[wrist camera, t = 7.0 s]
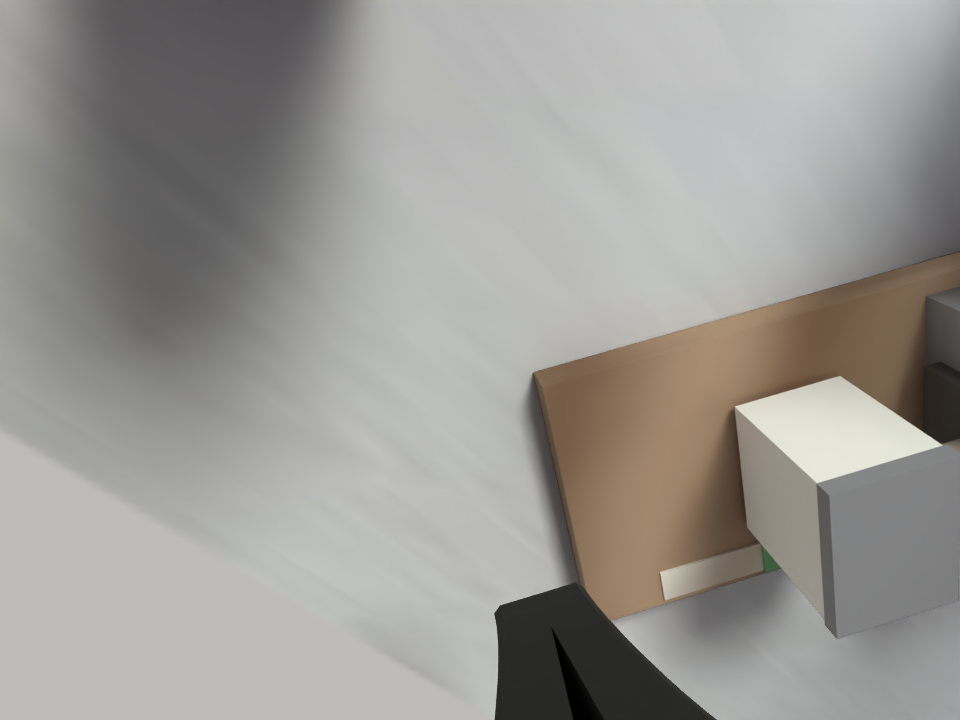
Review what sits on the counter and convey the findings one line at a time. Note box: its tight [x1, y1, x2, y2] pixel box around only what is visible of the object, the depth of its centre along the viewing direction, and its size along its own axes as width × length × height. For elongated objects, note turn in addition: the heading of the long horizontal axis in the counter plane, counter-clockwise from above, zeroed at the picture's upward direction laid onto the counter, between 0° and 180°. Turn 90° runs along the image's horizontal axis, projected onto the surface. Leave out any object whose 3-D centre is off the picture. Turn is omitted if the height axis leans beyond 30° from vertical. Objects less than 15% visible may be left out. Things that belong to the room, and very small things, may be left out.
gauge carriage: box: [735, 376, 960, 639], centre depth 20 cm, size 3×6×4 cm, turn 13°
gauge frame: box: [533, 252, 960, 621], centre depth 20 cm, size 14×8×6 cm, turn 103°
